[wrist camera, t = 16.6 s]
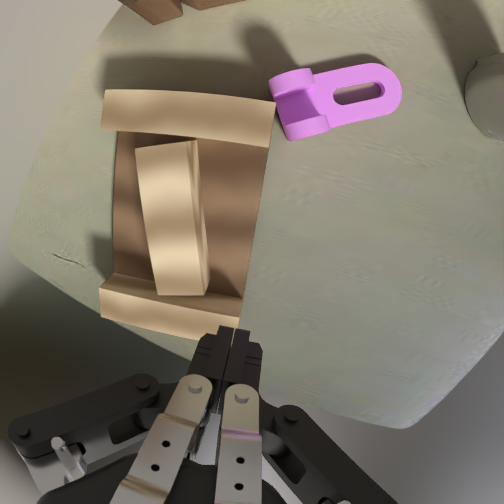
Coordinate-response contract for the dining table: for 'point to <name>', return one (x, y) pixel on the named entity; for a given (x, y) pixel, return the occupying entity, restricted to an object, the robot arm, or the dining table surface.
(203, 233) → the oak plank
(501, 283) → the dining table surface
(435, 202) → the dining table surface
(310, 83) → the bracket
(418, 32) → the dining table surface
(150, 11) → the wooden block
